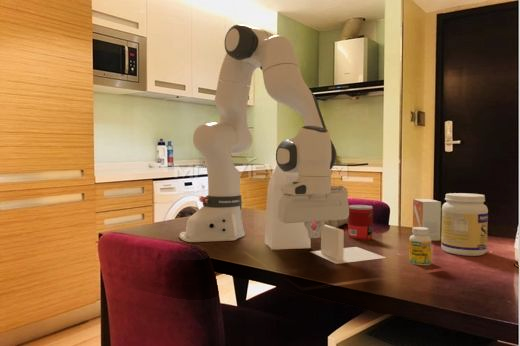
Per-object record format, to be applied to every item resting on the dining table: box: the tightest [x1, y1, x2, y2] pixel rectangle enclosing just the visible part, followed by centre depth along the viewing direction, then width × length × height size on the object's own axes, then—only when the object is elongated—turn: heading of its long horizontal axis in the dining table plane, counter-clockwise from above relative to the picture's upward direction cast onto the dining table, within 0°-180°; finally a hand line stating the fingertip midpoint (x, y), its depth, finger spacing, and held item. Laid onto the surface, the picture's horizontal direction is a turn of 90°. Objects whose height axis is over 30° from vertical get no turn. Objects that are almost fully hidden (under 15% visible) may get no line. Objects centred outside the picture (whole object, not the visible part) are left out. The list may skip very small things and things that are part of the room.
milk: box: [264, 163, 312, 250], centre depth 130 cm, size 12×12×26 cm
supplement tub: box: [440, 192, 489, 257], centre depth 123 cm, size 12×12×17 cm
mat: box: [310, 246, 387, 265], centre depth 118 cm, size 16×14×1 cm
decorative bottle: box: [324, 218, 348, 228], centre depth 161 cm, size 26×8×7 cm, turn 151°
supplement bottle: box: [408, 226, 432, 266], centre depth 110 cm, size 5×5×10 cm
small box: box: [412, 198, 442, 242], centre depth 143 cm, size 8×6×13 cm
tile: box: [320, 225, 345, 260], centre depth 116 cm, size 2×9×8 cm, turn 22°
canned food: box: [347, 204, 374, 242], centre depth 142 cm, size 8×8×11 cm
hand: (314, 237), depth 114 cm, fingers closed
